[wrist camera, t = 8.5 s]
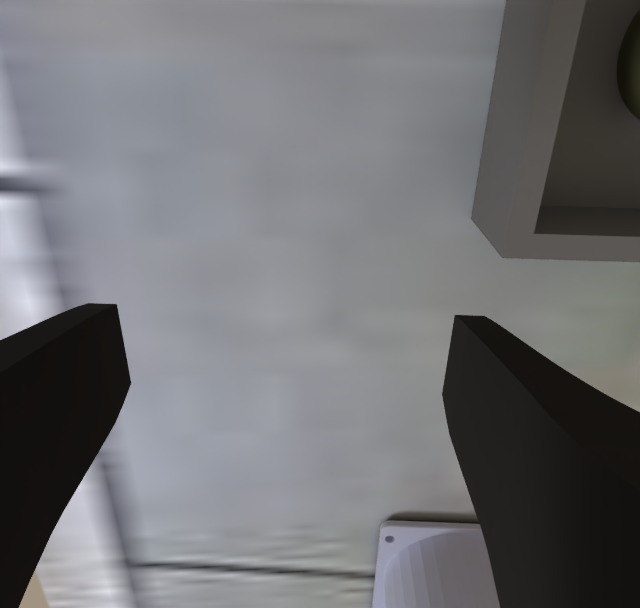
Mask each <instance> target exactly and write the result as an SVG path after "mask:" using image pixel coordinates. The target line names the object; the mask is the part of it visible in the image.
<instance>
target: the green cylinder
mask: <svg viewBox="0 0 640 608" xmlns="http://www.w3.org/2000/svg"><path fill="white" fill-rule="evenodd" d="M617 83H618V88H619V92H620V95H621V98H622V100H623V102H624V103H625V105H626V107H627V108H628V109H629V111H630V112H631V113H632V114H633V115H634V116H635V117H636V118H638V119H639V120H640V9H639V11H638V12H637V13H636V15H635V16H634V18H633V20H632V21H631V23H630V25H629V27H628V29H627V31H626V33H625V35H624V38H623V40H622V44H621V47H620V50H619V55H618V60H617Z"/></svg>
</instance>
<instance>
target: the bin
mask: <svg viewBox="0 0 640 608" xmlns="http://www.w3.org/2000/svg"><path fill="white" fill-rule="evenodd" d="M639 9H640V0H506V7H505V13H504V19H503V25H502V31H501V38H500V44H499V50H498V56H497V62H496V68H495V75H494V81H493V87H492V93H491V99H490V106H489V112H488V118H487V124H486V130H485V136H484V143H483V149H482V155H481V161H480V167H479V174H478V180H477V186H476V192H475V198H474V204H473V211H472V217H471V219H472V221H473V222H474V223H475V224H476V226H477V227H478V228H479V229H480V231H481V232H482V233H483V234H484V236H485V237H486V238H487V239H488V241H489V242H490V243H491V244H492V246H493V247H494V248H495V249H496V251H497V252H498V253H499V255H500V256H501V257H502V258H522V259H555V260H589V261H622V262H640V120H639V119H638V118H636V117H635V116H634V115H633V114H632V113H631V112H630V111H629V109H628V108H627V107H626V105H625V103H624V102H623V100H622V98H621V95H620V92H619V88H618V83H617V60H618V55H619V50H620V47H621V44H622V40H623V38H624V35H625V33H626V31H627V29H628V27H629V25H630V23H631V21H632V20H633V18H634V16H635V15H636V13H637V12H638V11H639Z"/></svg>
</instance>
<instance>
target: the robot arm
mask: <svg viewBox="0 0 640 608" xmlns="http://www.w3.org/2000/svg"><path fill="white" fill-rule="evenodd" d="M130 385H131V380H130V375H129V369H128V364H127V358H126V353H125V347H124V342H123V336H122V331H121V325H120V320H119V314H118V309H117V304H93V303H88V304H85V305H81V306H78V307H75V308H73V309H70V310H68V311H65V312H63V313H60V314H58V315H56V316H54V317H51V318H49V319H47V320H45V321H42V322H40V323H38V324H36V325H33V326H31V327H29V328H27V329H25V330H22V331H20V332H18V333H16V334H13V335H11V336H9V337H7V338H5V339H2V340H0V608H18V607H19V605H20V603H21V600H22V598H23V596H24V593H25V591H26V589H27V586H28V584H29V581H30V579H31V577H32V575H33V573H34V571H35V568H36V566H37V564H38V562H39V560H40V558H41V555H42V553H43V551H44V549H45V547H46V544H47V542H48V540H49V538H50V536H51V534H52V532H53V530H54V528H55V526H56V524H57V522H58V520H59V519H60V517H61V515H62V513H63V511H64V509H65V508H66V506H67V504H68V503H69V501H70V499H71V498H72V496H73V494H74V492H75V491H76V489H77V487H78V486H79V484H80V482H81V481H82V479H83V477H84V476H85V474H86V472H87V471H88V469H89V467H90V465H91V464H92V462H93V460H94V459H95V457H96V455H97V454H98V452H99V450H100V449H101V447H102V445H103V443H104V442H105V440H106V438H107V436H108V435H109V433H110V431H111V429H112V428H113V426H114V424H115V422H116V420H117V418H118V415H119V413H120V410H121V408H122V406H123V403H124V401H125V398H126V395H127V393H128V390H129V387H130ZM442 396H443V402H444V407H445V413H446V419H447V424H448V429H449V434H450V437H451V440H452V443H453V446H454V449H455V453H456V456H457V459H458V462H459V465H460V468H461V471H462V474H463V477H464V479H465V482H466V485H467V488H468V491H469V494H470V497H471V500H472V503H473V506H474V509H475V512H476V515H477V518H478V521H479V524H470V523H444V522H419V521H393V520H390V521H385V522H383V523H382V524H381V527H380V536H379V545H378V554H377V564H376V573H375V582H374V591H373V600H372V608H640V412H638V411H636V410H634V409H632V408H630V407H628V406H626V405H624V404H622V403H620V402H618V401H617V400H615V399H613V398H611V397H609V396H607V395H606V394H604V393H602V392H600V391H599V390H597V389H595V388H594V387H592V386H590V385H589V384H587V383H585V382H584V381H582V380H580V379H579V378H577V377H575V376H574V375H572V374H570V373H569V372H567V371H566V370H564V369H563V368H561V367H560V366H558V365H557V364H555V363H553V362H552V361H551V360H549V359H548V358H546V357H545V356H543V355H542V354H540V353H539V352H537V351H536V350H534V349H533V348H531V347H530V346H529V345H527V344H526V343H524V342H523V341H521V340H520V339H519V338H517V337H516V336H514V335H513V334H511V333H510V332H509V331H507V330H506V329H504V328H503V327H501V326H500V325H498V324H497V323H495V322H494V321H492V320H490V319H489V318H487V317H485V316H469V315H455V318H454V324H453V330H452V336H451V343H450V349H449V355H448V361H447V367H446V374H445V380H444V386H443V392H442Z"/></svg>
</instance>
